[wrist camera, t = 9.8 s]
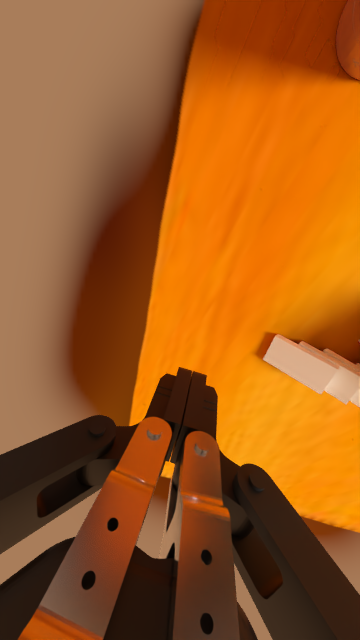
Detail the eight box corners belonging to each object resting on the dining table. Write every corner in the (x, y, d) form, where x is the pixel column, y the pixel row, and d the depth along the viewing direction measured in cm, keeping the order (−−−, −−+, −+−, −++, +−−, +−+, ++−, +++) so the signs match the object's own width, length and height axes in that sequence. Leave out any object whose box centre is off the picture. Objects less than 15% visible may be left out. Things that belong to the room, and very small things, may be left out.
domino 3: (323, 349, 40) (393, 391, 33) (327, 348, 41) (395, 387, 34) (308, 372, 42) (371, 415, 35) (312, 370, 43) (373, 411, 36)
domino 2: (299, 342, 40) (365, 379, 34) (302, 340, 41) (367, 376, 35) (285, 366, 42) (346, 404, 36) (288, 363, 43) (347, 400, 38)
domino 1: (275, 335, 40) (338, 369, 35) (278, 333, 41) (339, 366, 36) (262, 359, 42) (320, 394, 37) (265, 356, 43) (322, 390, 38)
